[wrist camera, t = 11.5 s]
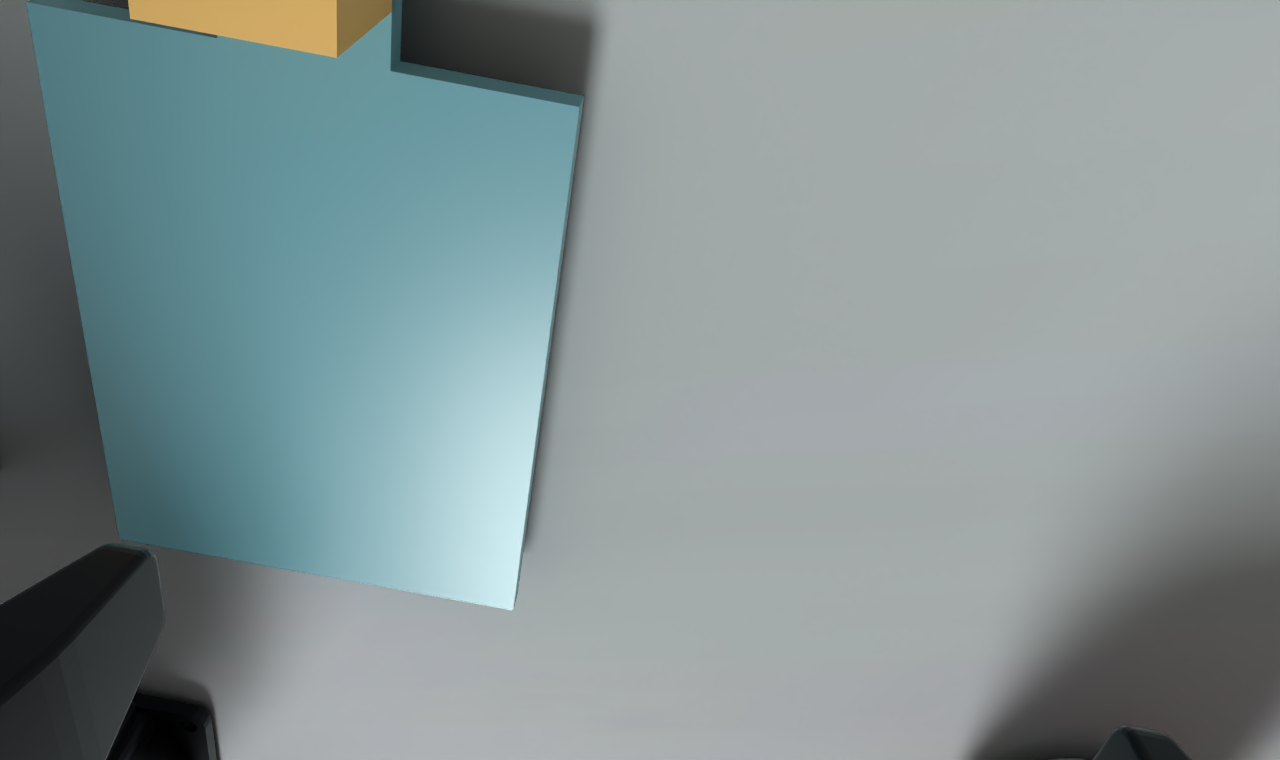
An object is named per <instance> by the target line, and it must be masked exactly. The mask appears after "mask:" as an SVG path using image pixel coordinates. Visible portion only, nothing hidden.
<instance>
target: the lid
mask: <svg viewBox="0 0 1280 760" xmlns="http://www.w3.org/2000/svg"><path fill="white" fill-rule="evenodd" d="M128 4H129V10H128V9H123V8H118V7H113V6H107V5H102V4H97V3H92V2H86V1H81V0H30V1H27V2H26V6H27V12H28V17H29V23H30V29H31V35H32V40H33V46H34V52H35V58H36V63H37V69H38V75H39V81H40V86H41V92H42V98H43V104H44V109H45V115H46V121H47V127H48V132H49V138H50V144H51V150H52V155H53V161H54V167H55V173H56V178H57V184H58V190H59V196H60V201H61V207H62V213H63V219H64V224H65V230H66V236H67V242H68V247H69V253H70V259H71V265H72V270H73V276H74V282H75V288H76V293H77V299H78V305H79V311H80V316H81V322H82V328H83V334H84V339H85V345H86V351H87V357H88V362H89V368H90V374H91V380H92V385H93V391H94V397H95V403H96V408H97V414H98V420H99V426H100V431H101V437H102V443H103V449H104V454H105V460H106V466H107V472H108V477H109V483H110V489H111V495H112V500H113V506H114V512H115V518H116V523H117V529H118V535H119V539H121V540H126V541H132V542H137V543H143V544H148V545H154V546H159V547H165V548H170V549H176V550H181V551H187V552H192V553H198V554H203V555H209V556H214V557H220V558H226V559H231V560H237V561H242V562H248V563H253V564H259V565H264V566H270V567H275V568H281V569H286V570H292V571H297V572H303V573H308V574H314V575H320V576H325V577H331V578H336V579H342V580H347V581H353V582H358V583H364V584H369V585H375V586H380V587H386V588H391V589H397V590H402V591H408V592H413V593H419V594H425V595H430V596H436V597H441V598H447V599H452V600H458V601H463V602H469V603H474V604H480V605H485V606H491V607H496V608H502V609H507V610H513V609H514V605H515V601H516V598H517V594H518V587H519V580H520V572H521V565H522V558H523V550H524V543H525V535H526V528H527V520H528V513H529V505H530V498H531V490H532V483H533V475H534V468H535V460H536V453H537V445H538V438H539V430H540V423H541V415H542V408H543V400H544V393H545V385H546V378H547V370H548V363H549V355H550V348H551V340H552V333H553V325H554V318H555V311H556V303H557V296H558V288H559V281H560V273H561V266H562V258H563V251H564V243H565V236H566V228H567V221H568V213H569V206H570V198H571V191H572V183H573V176H574V168H575V161H576V153H577V146H578V138H579V131H580V123H581V116H582V108H583V101H584V96H581V95H576V94H571V93H565V92H560V91H555V90H550V89H544V88H539V87H534V86H528V85H523V84H518V83H513V82H507V81H502V80H497V79H492V78H486V77H481V76H476V75H471V74H465V73H460V72H455V71H450V70H444V69H439V68H434V67H428V66H423V65H418V64H413V63H407V62H402V61H400V55H401V20H402V0H128Z"/></svg>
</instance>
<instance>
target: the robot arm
mask: <svg viewBox="0 0 1280 760" xmlns="http://www.w3.org/2000/svg"><path fill="white" fill-rule="evenodd" d="M164 620H165V607H164V600H163V593H162V587H161V580H160V574H159V567H158V562H157V558H156V556H155V555H154V553H153V552H152V551H150V550H147V549H143V548H137V547H132V546H126V545H121V544H107V545H104V546H101V547H99V548H97V549H95V550H93V551H92V552H90V553H88V554H87V555H85V556H83V557H81V558H80V559H78V560H76V561H75V562H73V563H71V564H70V565H68V566H66V567H64V568H63V569H61V570H59V571H58V572H56V573H54V574H52V575H51V576H49V577H47V578H46V579H44V580H42V581H41V582H39V583H37V584H35V585H34V586H32V587H30V588H29V589H27V590H25V591H24V592H22V593H20V594H18V595H17V596H15V597H13V598H12V599H10V600H8V601H6V602H5V603H3V604H1V605H0V760H217V758H216V750H215V742H214V734H213V726H212V718H211V716H210V714H209V713H208V712H207V711H206V710H205V709H204V708H202V707H200V706H197V705H194V704H188V703H183V702H177V701H171V700H166V699H160V698H154V697H149V696H143V695H137V694H135V693H136V690H137V688H138V686H139V684H140V681H141V679H142V677H143V674H144V672H145V670H146V668H147V665H148V663H149V661H150V659H151V656H152V654H153V652H154V650H155V647H156V645H157V643H158V641H159V638H160V636H161V633H162V629H163V626H164ZM1093 760H1191V759H1190V758H1189V756H1188V755H1187V754H1186V753H1185V752H1184V751H1183V750H1182V749H1181V748H1180V747H1179V746H1178V745H1177V744H1176V742H1175V741H1173V740H1172V739H1171V738H1170V737H1169V736H1168V735H1166V734H1164V733H1162V732H1160V731H1156V730H1150V729H1145V728H1139V727H1134V726H1128V725H1123V726H1120V727H1118V728H1116V729H1114V730H1113V731H1112V733H1111V734H1110V735H1109V737H1108V738H1107V740H1106V741H1105V743H1104V744H1103V746H1102V747H1101V749H1100V750H1099V752H1098V753H1097V755H1096V756H1095V758H1094V759H1093Z"/></svg>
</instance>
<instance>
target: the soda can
mask: <svg viewBox="0 0 1280 760" xmlns="http://www.w3.org/2000/svg"><path fill="white" fill-rule="evenodd" d="M1050 760H1086V759H1067V758H1065V759H1050Z"/></svg>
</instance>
